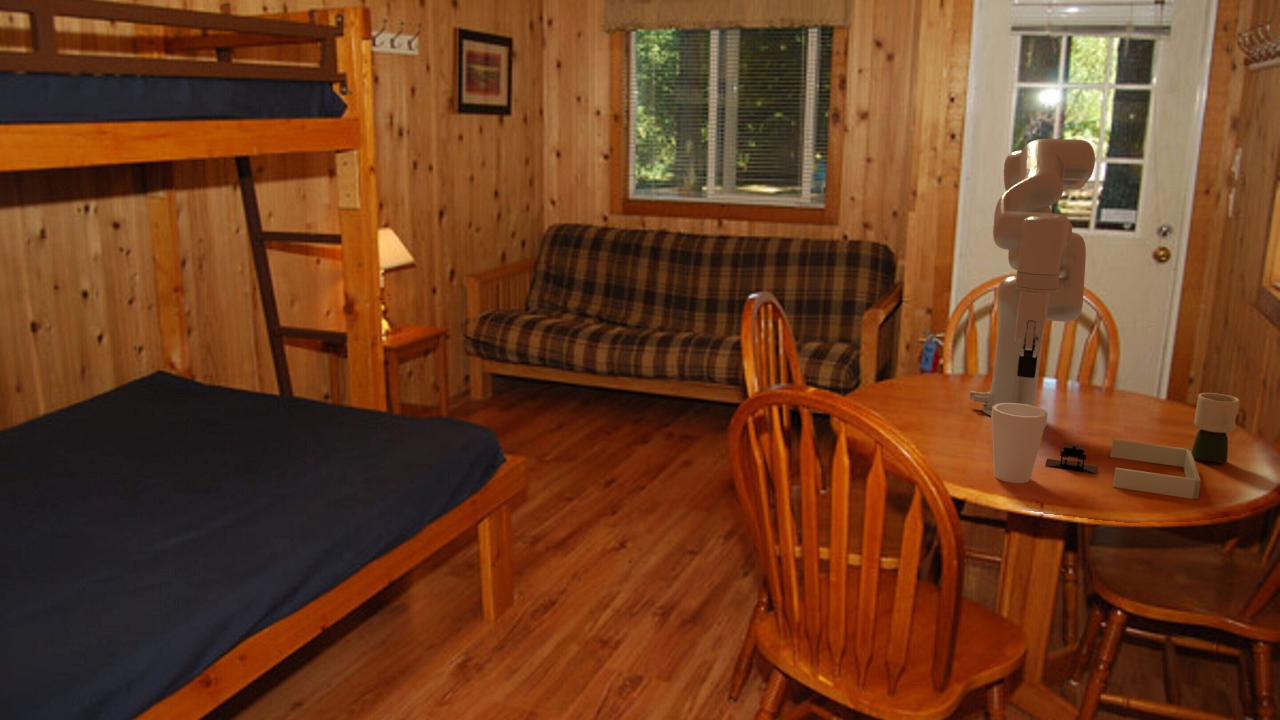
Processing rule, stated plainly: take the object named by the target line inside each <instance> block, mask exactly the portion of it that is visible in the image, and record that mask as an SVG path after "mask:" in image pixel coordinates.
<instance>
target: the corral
mask: <svg viewBox="0 0 1280 720" xmlns="http://www.w3.org/2000/svg"><path fill="white" fill-rule="evenodd" d="M1110 451H1111V452H1110V458H1115V459H1116V458H1117V459H1123V460H1124V459H1125V460H1129V461H1138V462H1145V463H1151V464H1152V463H1153V464H1159V465H1167V466H1174V467H1179V468H1180V467H1181V468H1183V470H1184V475H1185V476H1178V475H1171V474H1170V475H1169V474H1162V473H1157V472H1150V471H1142V470H1137V469H1129V468H1121V467H1115V471H1114V476H1113V484H1112V487H1113V488H1117V489H1124V490H1132V491H1138V492H1143V493H1151V494H1158V495H1164V496H1170V497H1171V496H1172V497H1179V498H1184V499H1191V500H1199V494H1200V490H1201V489H1200V487H1201V483H1202V482H1201V477H1200V475H1199V471H1198V468H1197V466H1196V463H1195V458H1194V457H1193V456H1192V450H1191V449H1190V448H1183V447H1175V446H1169V445H1168V446H1167V445H1160V444H1152V443H1146V442H1137V441H1132V440H1131V441H1130V440H1124V439H1116V438H1113V439H1112V444H1111V450H1110Z"/></svg>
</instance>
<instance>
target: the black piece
mask: <svg viewBox="0 0 1280 720" xmlns="http://www.w3.org/2000/svg"><path fill="white" fill-rule="evenodd" d="M1085 449H1086V448H1085V445H1079V444H1074V443H1073V444H1072V443H1067V442H1066V443H1064V444H1063V447H1061V450H1060V453H1059V456H1060V460H1059V459H1053V458H1046V460H1045V465H1044V467H1045V468H1052V469H1057V470H1063V471H1064V470H1065V471H1070V472H1076V473H1077V472H1078V473H1079V472H1080V473H1083V474H1084V473H1085V474H1089V475H1090V474H1092V475H1099V473H1100V472H1099V466H1098V465H1095V464H1088V463H1087V464H1086V463H1085V460H1086V461H1087V454H1086V450H1085ZM1063 458H1064V459H1063ZM1065 458H1072V459H1073V458H1075V459H1077V461H1075V460H1068V459H1065ZM1079 460H1082V462H1081V461H1079Z"/></svg>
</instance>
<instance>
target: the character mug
mask: <svg viewBox="0 0 1280 720" xmlns="http://www.w3.org/2000/svg"><path fill="white" fill-rule="evenodd" d="M1196 402H1197V403H1196V406H1195V407H1196V408H1195V413H1194V414H1195V415H1194V418H1193V419H1194V420H1193V425H1194V427H1196V428H1199V430H1198V431H1197V433H1196V437H1195V440H1194V443H1193V446H1192V448H1191V449H1192V450H1191V453H1192V456H1193V459H1198V460H1201V461H1206V462H1207V461H1209V462H1210V463H1211V464H1214V463H1215V462H1216V463H1217V462H1218V463H1226V462H1228V450H1229V449H1228V448H1229V447H1228V446H1229V445H1228V444H1229V441H1228V439H1229V438H1228V435H1227V433H1231V432H1233V431H1234V430H1235V429H1236V427H1237V425H1236V418H1237V415H1238V414H1239V411H1240V409H1239V407H1240V398H1238V397H1236V396H1233V395H1230V394H1229V395H1228V394H1222V393H1217V392H1202V393H1199V394H1198V396H1197V401H1196Z"/></svg>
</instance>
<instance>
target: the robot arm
mask: <svg viewBox="0 0 1280 720" xmlns="http://www.w3.org/2000/svg"><path fill="white" fill-rule="evenodd" d="M1095 165H1096V155H1095V150H1094V148H1093V145H1092V144H1091V143H1090V142H1089V141H1087V140H1084V139H1069V138H1067V139H1066V138H1064V139H1063V138H1038V139H1035V140H1032V141H1030V142H1028V143H1027V144H1026V145H1025V146H1024V147H1023V148H1022V149H1019V150H1015V151H1012V152H1011V153H1009V154H1008V155H1007V156H1006V158H1005V161H1004V165H1003V183H1004V188H1005V189H1004V190H1005V192H1004V193H1003V194H1002V195H1001V196H1000V198H999V199H998V201H997V203H996V206H995V210H994V215H993V231H992V234H993V241H994V243H995V245H996V246H997V247H998V248H1000V249H1002V250H1007V251H1008V255H1007V256H1008V259H1007V260H1008V263H1009V266H1010V267H1011V268H1012V269H1013V270H1014V271H1016V274H1015V275H1009V276H1007V277H1005V278H1004V279H1002V280H1001V282H1000V283H999V285H998V289H997V311H998V312H997V313H998V315H997V316H998V317H997V319H998V320H997V333H996V334H997V335H996V344H995V353H994V363H993V371H992V381H991V388H990V389H989V391H984V392H980V391H977V390H976V391H975V390H970V392H969V400H974V402H979V403H980V402H981V403H982V406H981V411H982V412H983V413H984V414H986V415H987V416H991V415H992V406H994V405H996V404H1000V403H1018V404H1026V405H1031V406H1035V407H1036V405H1035V404H1036V396H1037V388H1038V382H1039V381H1038V379H1039V373H1040V365H1041V364H1040V363H1041V355H1042V347H1043V337H1044V334H1045V329H1046V325H1047V321H1048V322H1049V321H1051V322H1061V323H1062V322H1063V323H1064V322H1065V323H1066V322H1067V323H1068V322H1074V321H1076V320H1077V319H1078V318H1080V315H1081V313H1082V310H1083V306H1084V293H1085V292H1084V291H1085V277H1086V275H1085V274H1086V259H1087V255H1086V254H1087V249H1086V243H1085V240H1084V237H1083V236H1082V235H1080V234H1079V233H1077V232H1074V231H1073V224H1072V223H1071V221H1070V219H1069V218H1068V217H1067V216H1066V215H1064V214H1060V213H1053V212H1052V211H1053V210H1052V209H1051V207H1052V205H1054V204H1056V203H1057V202H1058V201H1059V200H1060V199H1061V198H1062V195H1063V193H1064V190H1080V189H1081V188H1083V187H1085V185H1086V184H1087V183H1088V181H1089V180H1090V178H1091V177H1092V175H1093V173H1094V170H1095Z"/></svg>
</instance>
